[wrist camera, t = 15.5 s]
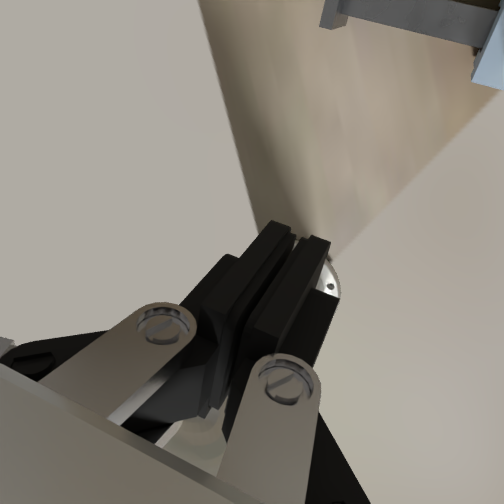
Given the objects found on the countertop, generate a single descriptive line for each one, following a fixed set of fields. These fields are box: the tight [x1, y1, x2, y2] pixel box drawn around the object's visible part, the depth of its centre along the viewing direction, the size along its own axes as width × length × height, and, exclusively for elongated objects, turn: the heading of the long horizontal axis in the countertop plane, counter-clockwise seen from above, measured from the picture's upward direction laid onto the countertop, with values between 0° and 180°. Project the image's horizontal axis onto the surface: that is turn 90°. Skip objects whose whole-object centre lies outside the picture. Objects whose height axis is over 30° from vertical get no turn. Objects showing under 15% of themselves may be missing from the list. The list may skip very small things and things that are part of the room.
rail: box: [319, 0, 499, 49], centre depth 32 cm, size 4×19×5 cm, turn 79°
